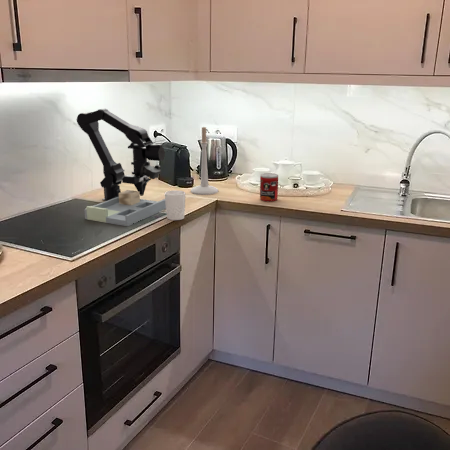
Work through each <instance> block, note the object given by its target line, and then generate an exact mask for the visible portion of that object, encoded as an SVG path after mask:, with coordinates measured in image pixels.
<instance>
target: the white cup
mask: <svg viewBox="0 0 450 450" xmlns="http://www.w3.org/2000/svg"><path fill="white" fill-rule="evenodd" d="M164 199H165V205H166V209H165V211H166V219H167V220H170V221H180V220H184V219H185V212H186V191H183V190H176V189H174V190H167V191H165V192H164Z"/></svg>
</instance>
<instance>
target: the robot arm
mask: <svg viewBox="0 0 450 450" xmlns="http://www.w3.org/2000/svg"><path fill="white" fill-rule="evenodd" d="M101 120H102V121H103V122H105V123H107V124H108V125H110V126H112V127H113V128H115V129H116V130H118V131H119V132H121V133H122V134H123V135H125V138H126V139H128V140H129V142H131V143H130V144H129V145H128V146H127V149H132V161H131V162H130V164H131V165H132V166H133V171H131V174H126V175H125V169H123V166H122V164H121V162H118V163H117V162H116V161H115V160H114V159H113V156H112V154H111V152H110V150H109V148H108V146H107V144H106V142H105V141H104V139H103V136H102V134H101V133H100V129H99V128H100V127H99V126H100V125H99V124H100V123H99V121H101ZM76 123H77V125H78V126H79V128H80V129H81V130H82V131H83V132H84V133H85V134H86V135H87V136H88V137H89V139H90V140H89V141H90V142H91V144H92V146H93V147H94V150H95V151H96V154H97V156H98V157H99V160H100V162H101V163H102V167H103V169H102V171H103V176H104V178H102V180H101V181H100V183H99V184H100V187H101V188H103V194H104V195H103V196H104V197H103V198H102V199H101V200H102V201H108V200H111V199H113V198H116V197H119V193H120V192H122V191H121V188H120V185H122V183H124V184H128V185H129V184H130V185H133V186H134V187H135V189H136V191H139V192H140V197H143V196H144V194H145V191H146V187H147V183H149V182H150V181H152V180H154V179H157V178H159V175H160V174H162V167H161V165H159V164H156V165H154V166H153V165H151V162H150V161H159V162H163V161H164V160H165V156H166V152H165V150H164V147H163V144H162V143H157V144H156V143H154V142H153V140H152V139H151V137H150V135H149V133H148V131H147V129H145V128H144V127H140V126H138V125H134V124H130V123H129V122H127V121H126V120H124V119H123V118H121V117H119V116H118V115H117V114H115V113H113V112H111V111H110V110H108V109H107V108H101V109H97V110H96V111H86V112H81V113H79V114H78V115H77V116H76Z"/></svg>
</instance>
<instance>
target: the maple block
mask: <svg viewBox="0 0 450 450" xmlns="http://www.w3.org/2000/svg"><path fill="white" fill-rule="evenodd" d="M140 199H141V196H140V192H139V191H137V190H131V189H126V190H124V191H121V192H120V193H119V204H125V205H134V204H136V203H139V202H140Z"/></svg>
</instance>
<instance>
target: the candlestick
mask: <svg viewBox="0 0 450 450" xmlns="http://www.w3.org/2000/svg"><path fill="white" fill-rule="evenodd" d="M199 143H200V145H201V148H202V149H201V165H200V166H201V168H200V170H201V171H200V184H199V185H197V186H193V187H191V189H190V193H192V194H194V195H199V196H200V195H201V196H206V195H207V196H208V195H209V196H211V195H216V194H217V193H219V189H218V188H217V187H216V186H213V185H209V175H208V173H209V172H208V156H207V155H208V154H207V146H208V143H209V142H208V141H207V127H206V126H201V141H200V142H199Z"/></svg>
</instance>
